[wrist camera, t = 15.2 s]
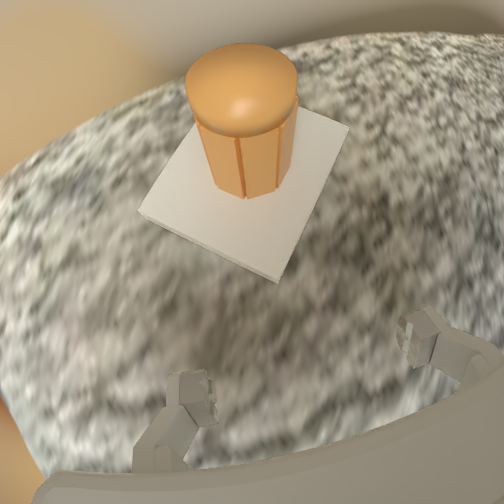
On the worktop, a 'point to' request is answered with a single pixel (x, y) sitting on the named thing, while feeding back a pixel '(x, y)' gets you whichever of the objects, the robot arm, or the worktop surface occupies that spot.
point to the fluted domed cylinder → (245, 115)
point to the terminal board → (246, 211)
